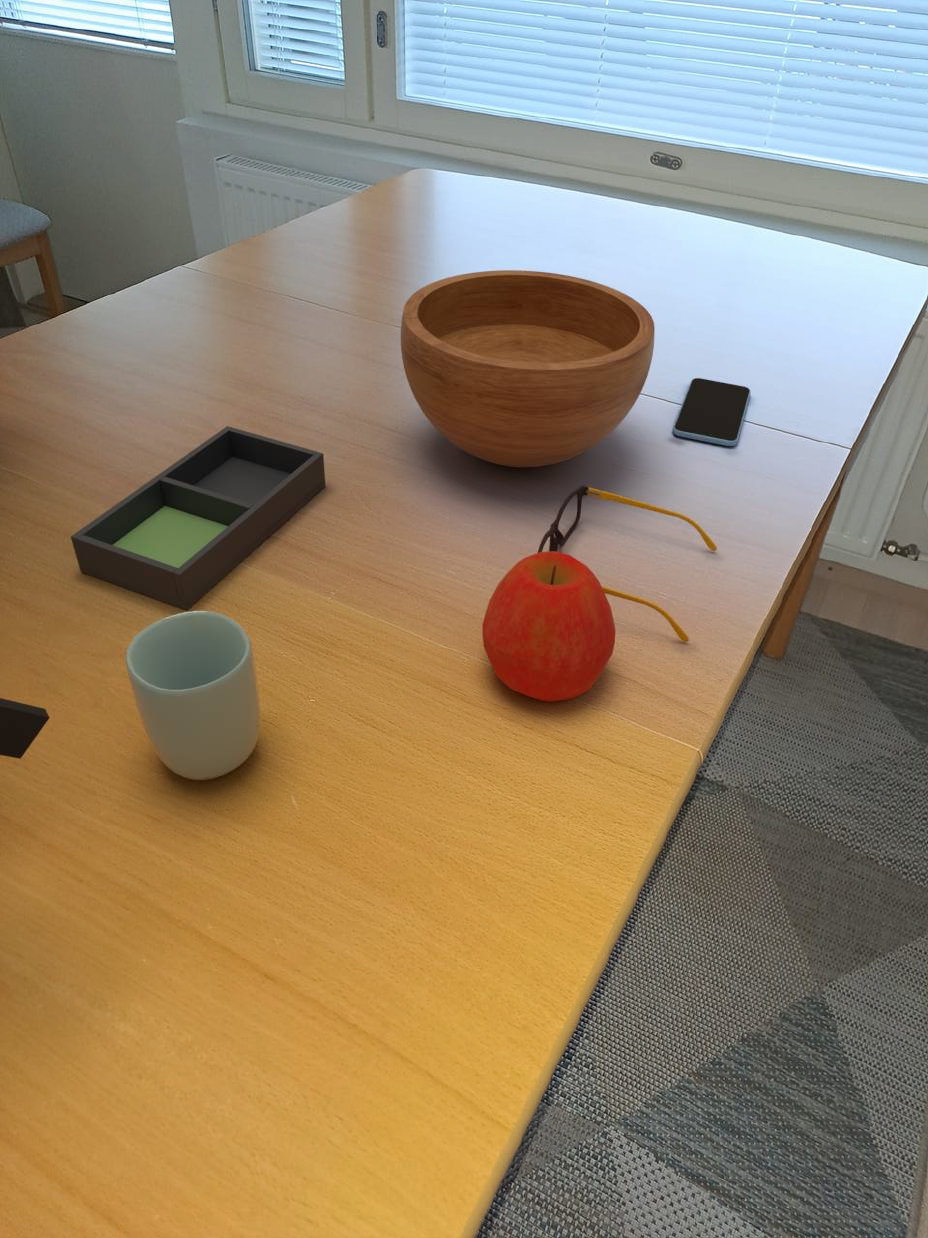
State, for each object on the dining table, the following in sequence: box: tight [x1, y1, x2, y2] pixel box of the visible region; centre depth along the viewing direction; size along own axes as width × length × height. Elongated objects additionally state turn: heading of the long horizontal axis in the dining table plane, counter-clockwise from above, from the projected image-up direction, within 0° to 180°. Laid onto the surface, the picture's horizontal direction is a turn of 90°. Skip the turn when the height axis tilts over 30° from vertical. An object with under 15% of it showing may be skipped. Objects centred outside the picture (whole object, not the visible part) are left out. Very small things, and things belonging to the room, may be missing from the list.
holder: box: [70, 425, 327, 611], centre depth 85 cm, size 11×22×4 cm, turn 155°
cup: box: [125, 610, 262, 781], centre depth 61 cm, size 8×8×10 cm
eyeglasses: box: [537, 485, 718, 643], centre depth 81 cm, size 14×14×4 cm
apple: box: [481, 551, 616, 703], centre depth 69 cm, size 10×10×10 cm
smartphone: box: [672, 377, 752, 447], centre depth 107 cm, size 7×1×15 cm
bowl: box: [400, 269, 656, 468], centre depth 94 cm, size 25×25×15 cm
